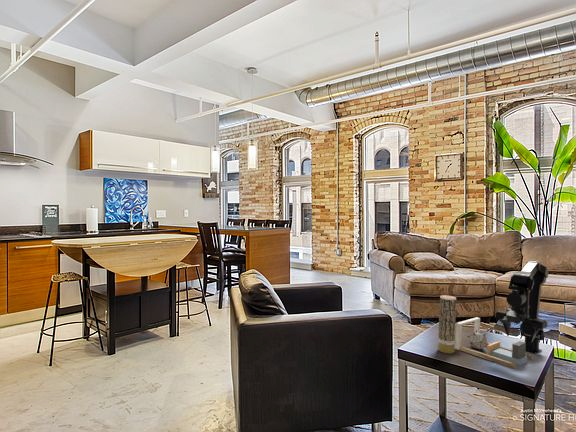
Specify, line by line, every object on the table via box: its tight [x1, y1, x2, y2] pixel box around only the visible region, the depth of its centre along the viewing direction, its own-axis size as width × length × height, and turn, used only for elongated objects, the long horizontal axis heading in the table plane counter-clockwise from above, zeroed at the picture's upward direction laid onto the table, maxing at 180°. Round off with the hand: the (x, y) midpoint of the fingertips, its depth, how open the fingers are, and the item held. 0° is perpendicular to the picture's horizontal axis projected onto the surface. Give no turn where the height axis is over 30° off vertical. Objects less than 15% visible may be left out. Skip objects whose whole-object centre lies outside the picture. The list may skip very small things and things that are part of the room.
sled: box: [486, 340, 528, 366], centre depth 165 cm, size 10×13×8 cm
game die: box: [466, 330, 489, 352], centre depth 176 cm, size 9×8×10 cm
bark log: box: [437, 294, 457, 355], centre depth 172 cm, size 7×7×25 cm
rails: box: [460, 341, 534, 369], centre depth 169 cm, size 18×23×2 cm
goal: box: [454, 316, 481, 351], centre depth 180 cm, size 18×2×12 cm, turn 126°
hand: (519, 338), depth 162 cm, fingers open, 9 cm apart
